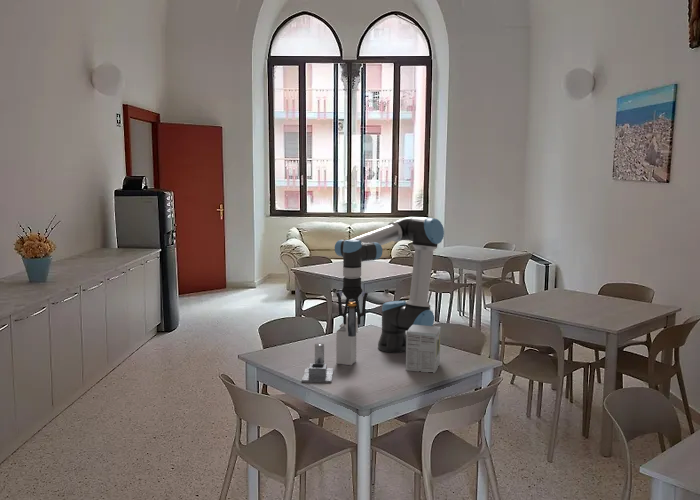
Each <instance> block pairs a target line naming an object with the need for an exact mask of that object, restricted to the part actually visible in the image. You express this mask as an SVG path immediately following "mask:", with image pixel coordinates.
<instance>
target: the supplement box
mask: <svg viewBox="0 0 700 500" xmlns="http://www.w3.org/2000/svg"><path fill="white" fill-rule="evenodd" d="M441 329H442V328H441V326H437V325H436V326H435V325H433V326H425V325H412V326H411V327H410V328H409V329H408V330H407V331H406V351H405V371H408V372H409V371H410V372H419V371H421V373H428V372H433V373H432V374H435V373H436V372H437V370H438V368H439V367H438V366H440V365H439V364H440V362H441V360H440V359H441V357H440V356H441Z"/></svg>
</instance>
